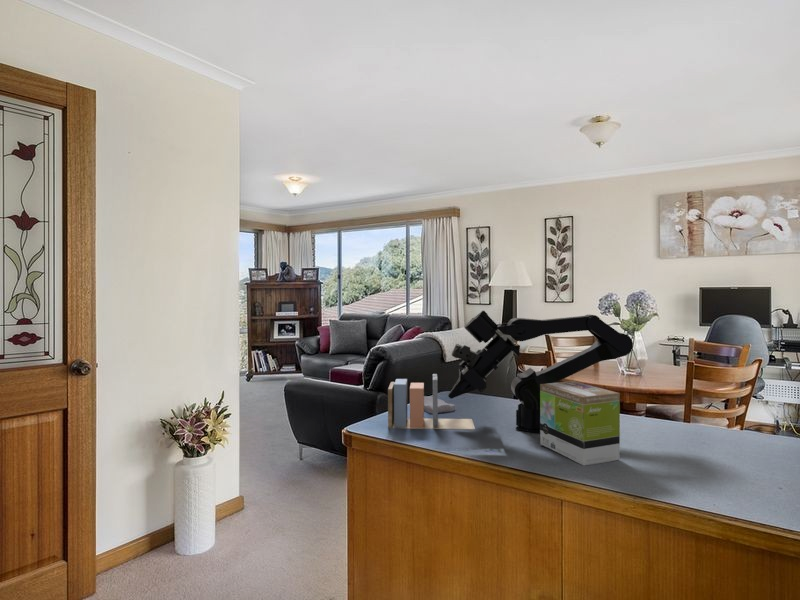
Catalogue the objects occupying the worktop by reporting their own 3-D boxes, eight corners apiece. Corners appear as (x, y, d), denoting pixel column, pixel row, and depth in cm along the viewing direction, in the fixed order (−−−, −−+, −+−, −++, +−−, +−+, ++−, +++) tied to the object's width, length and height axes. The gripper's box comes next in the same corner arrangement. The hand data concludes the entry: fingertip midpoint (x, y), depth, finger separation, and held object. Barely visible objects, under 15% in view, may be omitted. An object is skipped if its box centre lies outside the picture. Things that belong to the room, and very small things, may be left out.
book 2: (424, 419, 136) (423, 382, 136) (423, 427, 128) (423, 388, 128) (411, 419, 137) (410, 382, 136) (409, 427, 129) (409, 388, 129)
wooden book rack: (471, 423, 137) (471, 382, 136) (475, 433, 127) (475, 389, 127) (391, 422, 138) (391, 381, 138) (388, 432, 128) (387, 388, 128)
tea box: (538, 445, 117) (538, 382, 117) (573, 441, 120) (573, 379, 120) (583, 467, 103) (583, 395, 103) (621, 460, 106) (621, 391, 106)
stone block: (438, 412, 157) (410, 409, 153) (441, 397, 158) (413, 393, 153) (458, 422, 147) (429, 419, 142) (461, 406, 147) (432, 403, 142)
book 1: (407, 419, 137) (407, 378, 137) (405, 427, 129) (405, 384, 129) (396, 419, 137) (396, 378, 137) (394, 427, 129) (394, 384, 129)
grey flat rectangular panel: (437, 417, 137) (437, 374, 137) (437, 427, 128) (437, 379, 128) (432, 417, 137) (432, 373, 137) (432, 426, 128) (432, 379, 128)
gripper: (467, 330, 141) (427, 369, 141) (472, 336, 122) (427, 381, 123) (495, 359, 140) (455, 397, 141) (505, 369, 122) (459, 414, 123)
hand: (449, 397), depth 132 cm, fingers closed
